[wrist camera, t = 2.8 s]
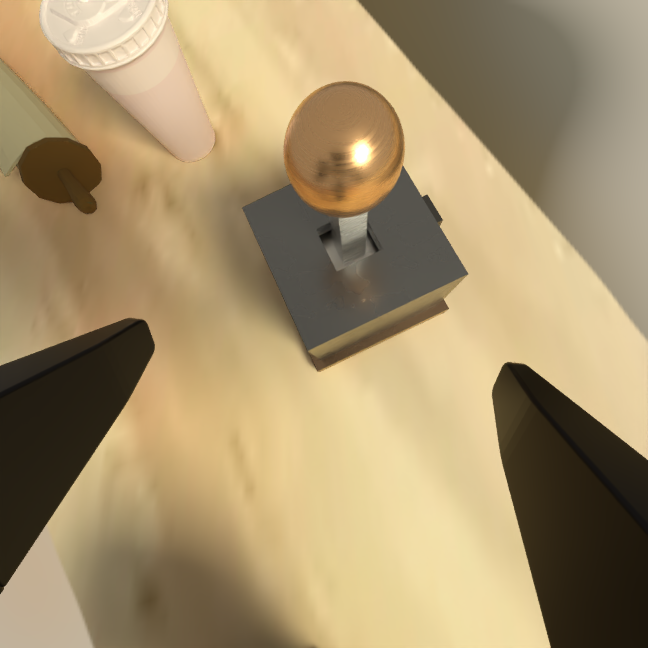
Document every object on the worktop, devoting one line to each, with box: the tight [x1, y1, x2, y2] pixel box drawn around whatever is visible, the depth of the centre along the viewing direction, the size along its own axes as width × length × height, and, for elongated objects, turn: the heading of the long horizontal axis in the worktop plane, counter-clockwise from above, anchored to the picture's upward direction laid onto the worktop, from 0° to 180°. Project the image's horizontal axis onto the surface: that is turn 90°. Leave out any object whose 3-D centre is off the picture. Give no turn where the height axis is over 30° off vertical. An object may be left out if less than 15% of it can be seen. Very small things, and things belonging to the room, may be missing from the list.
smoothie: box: [39, 0, 215, 162], centre depth 19 cm, size 6×6×14 cm
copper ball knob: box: [284, 81, 405, 271], centre depth 13 cm, size 6×6×9 cm
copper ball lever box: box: [243, 166, 468, 372], centre depth 19 cm, size 9×9×7 cm
